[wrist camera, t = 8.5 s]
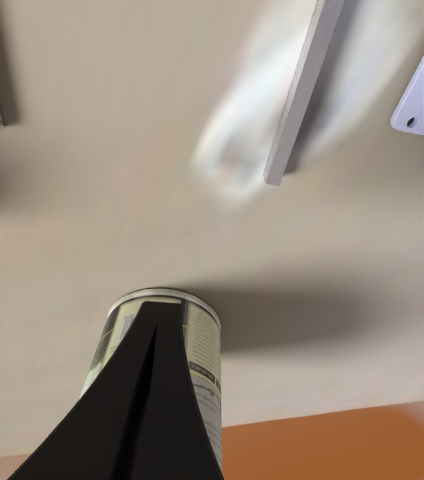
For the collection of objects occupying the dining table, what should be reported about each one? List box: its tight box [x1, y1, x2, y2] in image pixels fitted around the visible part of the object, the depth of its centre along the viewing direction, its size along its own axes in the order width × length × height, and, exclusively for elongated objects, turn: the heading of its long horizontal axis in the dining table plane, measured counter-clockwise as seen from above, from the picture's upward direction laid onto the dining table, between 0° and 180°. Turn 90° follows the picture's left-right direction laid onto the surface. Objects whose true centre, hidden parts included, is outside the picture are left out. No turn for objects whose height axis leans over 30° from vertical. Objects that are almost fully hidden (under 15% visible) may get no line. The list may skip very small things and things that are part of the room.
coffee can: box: [79, 289, 222, 472], centre depth 22 cm, size 10×10×14 cm
